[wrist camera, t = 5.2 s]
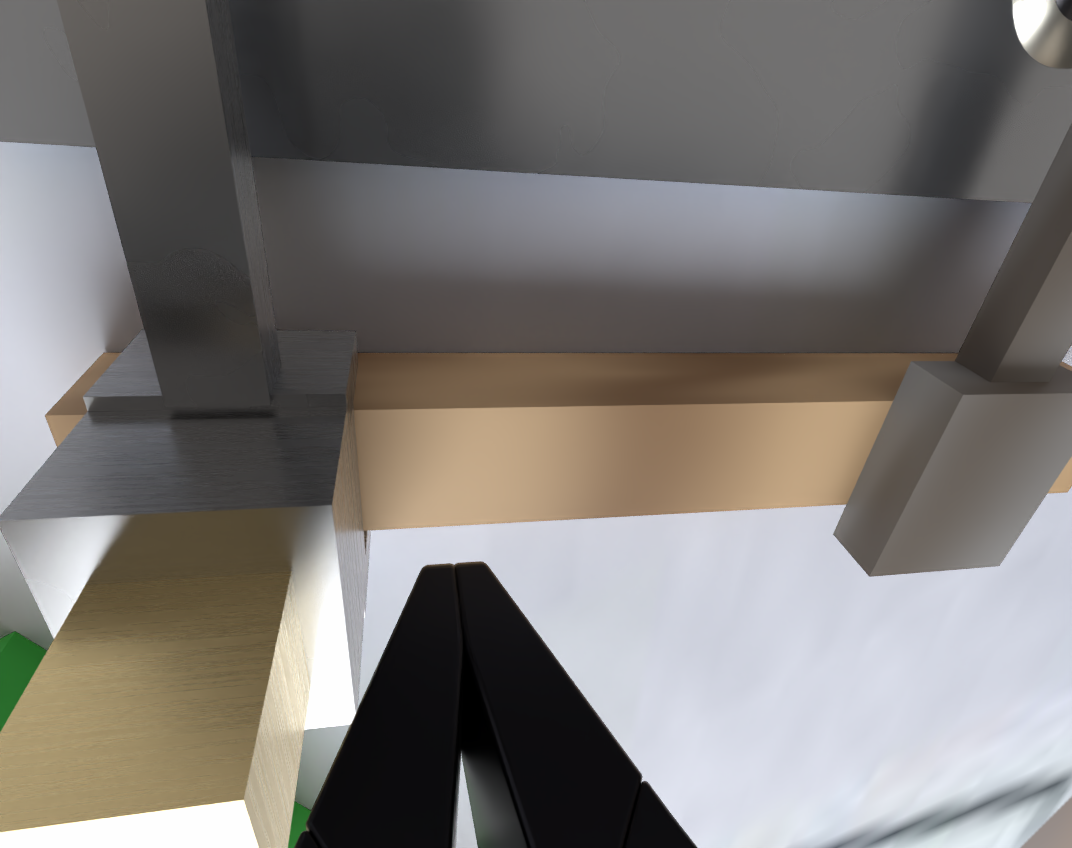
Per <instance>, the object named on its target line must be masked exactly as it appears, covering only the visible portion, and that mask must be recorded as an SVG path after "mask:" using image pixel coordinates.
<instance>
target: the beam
mask: <svg viewBox="0 0 1072 848" xmlns="http://www.w3.org/2000/svg"><path fill="white" fill-rule="evenodd" d="M1071 344H1072V123H1071V125H1070V127H1069V129H1068V131H1067V133H1066V135H1065V138H1064V140H1063V142H1062V144H1061V146H1060V148H1059V150H1058V152H1057V154H1056V156H1055V158H1054V160H1053V162H1052V164H1051V166H1050V168H1049V170H1048V172H1047V174H1046V176H1045V178H1044V180H1043V182H1042V184H1041V186H1040V188H1039V190H1038V192H1037V195H1036V197H1035V199H1034V201H1033V203H1032V205H1031V207H1030V209H1029V211H1028V213H1027V215H1026V217H1025V219H1024V221H1023V223H1022V225H1021V227H1020V229H1019V231H1018V233H1017V235H1016V237H1015V239H1014V241H1013V243H1012V245H1011V247H1010V250H1009V252H1008V254H1007V256H1006V258H1005V260H1004V262H1003V264H1002V266H1001V268H1000V270H999V272H998V274H997V276H996V278H995V280H994V282H993V284H992V286H991V288H990V290H989V292H988V294H987V296H986V298H985V300H984V302H983V304H982V307H981V309H980V311H979V313H978V315H977V317H976V319H975V321H974V323H973V325H972V327H971V329H970V331H969V333H968V335H967V337H966V339H965V341H964V343H963V345H962V347H961V349H960V351H959V353H357V354H358V372H357V379H356V386H355V394H354V401H353V406H354V419H355V431H356V444H357V456H358V468H359V481H360V493H361V506H362V518H363V530H364V531H367V530H385V529H403V528H422V527H440V526H458V525H477V524H495V523H513V522H532V521H550V520H568V519H587V518H605V517H623V516H642V515H660V514H678V513H697V512H715V511H733V510H752V509H770V508H788V507H807V506H825V505H843V504H847V505H846V507H845V509H844V511H843V514H842V516H841V518H840V520H839V522H838V525H837V527H836V529H835V531H834V534H833V535H834V536H835V537H836V538H837V539H838V540H839V542H840V543H841V544H842V545H843V546H844V547H845V549H846V550H847V551H848V552H849V553H850V554H851V556H852V557H853V558H854V559H855V560H856V561H857V563H858V564H859V565H860V566H861V567H862V568H863V570H864V571H865V572H866V573H867V574H868V575H869V577H871V576H883V575H895V574H908V573H920V572H932V571H944V570H957V569H969V568H981V567H993V566H1000V564H1001V563H1002V561H1003V560H1004V558H1005V557H1006V555H1007V554H1008V552H1009V550H1010V549H1011V547H1012V546H1013V544H1014V543H1015V541H1016V540H1017V538H1018V537H1019V535H1020V534H1021V532H1022V531H1023V529H1024V528H1025V526H1026V525H1027V523H1028V522H1029V520H1030V519H1031V517H1032V516H1033V514H1034V513H1035V511H1036V510H1037V508H1038V507H1039V505H1040V504H1041V502H1042V501H1043V499H1044V498H1045V496H1046V495H1047V493H1063V492H1068V491H1069V489H1070V488H1071V486H1072V366H1070V365H1068V364H1066V363H1064V362H1062V360H1063V358H1064V356H1065V355H1066V353H1067V351H1068V349H1069V348H1070V346H1071ZM120 354H121V353H103V354H102V355H101V356H100V357H99V358H98V359H97V360H96V361H95V362H94V364H93V365H92V366H91V367H90V368H89V369H88V370H87V371H86V372H85V373H84V374H83V375H82V376H81V377H80V378H79V380H78V381H77V382H76V383H75V384H74V385H73V386H72V387H71V388H70V389H69V390H68V391H67V392H66V393H65V394H64V396H63V397H62V398H61V399H60V400H59V401H58V402H57V403H56V404H55V405H54V406H53V407H52V408H51V409H50V410H49V412H48V413H47V414H46V415H45V417H46V420H47V422H48V425H49V428H50V430H51V433H52V435H53V438H54V440H55V443H56V446H57V447H58V446H59V445H60V444H61V443H62V441H63V440H64V439H65V438H66V437H67V435H68V434H69V433H70V432H71V431H72V429H73V428H74V427H75V426H76V425H77V423H78V422H79V421H80V420H81V419H82V417H83V416H84V415H85V414H86V413H87V408H86V405H85V402H84V399H83V396H84V395H85V394H86V392H87V391H88V390H89V389H90V388H91V387H92V386H93V385H94V383H95V382H96V381H97V380H98V379H99V378H100V377H101V375H102V374H103V373H104V372H105V371H106V370H107V369H108V367H109V366H110V365H111V364H112V363H113V362H114V361H115V360H116V358H117V357H118V356H119V355H120Z"/></svg>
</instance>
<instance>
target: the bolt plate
mask: <svg viewBox="0 0 1072 848" xmlns="http://www.w3.org/2000/svg"><path fill="white" fill-rule="evenodd" d="M228 2H229V9H230V16H231V22H232V29H233V36H234V43H235V50H236V57H237V64H238V70H239V77H240V84H241V91H242V98H243V105H244V112H245V118H246V125H247V132H248V139H249V146H250V153H251V156H252V157H269V158H286V159H303V160H319V161H336V162H353V163H370V164H387V165H403V166H420V167H437V168H454V169H470V170H487V171H504V172H521V173H538V174H554V175H571V176H588V177H605V178H622V179H638V180H655V181H672V182H689V183H705V184H722V185H739V186H756V187H773V188H789V189H806V190H823V191H840V192H857V193H873V194H890V195H907V196H924V197H940V198H957V199H974V200H991V201H1008V202H1024V203H1033V201H1034V199H1035V197H1036V195H1037V192H1038V190H1039V188H1040V186H1041V184H1042V182H1043V180H1044V178H1045V176H1046V174H1047V172H1048V170H1049V168H1050V166H1051V164H1052V162H1053V160H1054V158H1055V156H1056V154H1057V152H1058V150H1059V148H1060V146H1061V144H1062V142H1063V140H1064V138H1065V135H1066V133H1067V131H1068V129H1069V127H1070V125H1071V123H1072V0H228ZM0 142H17V143H34V144H51V145H68V146H84V147H96V146H95V142H94V138H93V134H92V131H91V127H90V123H89V119H88V116H87V112H86V108H85V104H84V101H83V97H82V93H81V89H80V86H79V82H78V78H77V74H76V71H75V67H74V63H73V59H72V56H71V52H70V48H69V44H68V41H67V37H66V33H65V29H64V26H63V22H62V18H61V14H60V11H59V7H58V3H57V0H0Z"/></svg>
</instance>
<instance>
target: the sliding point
mask: <svg viewBox="0 0 1072 848" xmlns="http://www.w3.org/2000/svg"><path fill="white" fill-rule="evenodd" d="M57 3H58V7H59V11H60V14H61V18H62V22H63V26H64V29H65V33H66V37H67V41H68V44H69V48H70V52H71V56H72V59H73V63H74V67H75V71H76V74H77V78H78V82H79V86H80V89H81V93H82V97H83V101H84V104H85V108H86V112H87V116H88V119H89V123H90V127H91V131H92V134H93V138H94V142H95V146H96V149H97V153H98V157H99V161H100V164H101V168H102V172H103V176H104V179H105V183H106V187H107V191H108V194H109V198H110V202H111V206H112V209H113V213H114V217H115V221H116V224H117V228H118V232H119V236H120V239H121V243H122V247H123V251H124V254H125V258H126V262H127V266H128V269H129V273H130V277H131V281H132V284H133V288H134V292H135V296H136V299H137V303H138V307H139V311H140V314H141V318H142V322H143V326H144V329H142V330H141V331H140V332H139V333H138V335H137V336H136V337H135V338H134V339H133V340H132V341H131V343H130V344H129V345H128V346H127V347H126V348H125V349H124V350H123V352H122V353H121V354H120V355H119V356H118V357H117V358H116V360H115V361H114V362H113V363H112V364H111V365H110V366H109V367H108V369H107V370H106V371H105V372H104V373H103V374H102V375H101V377H100V378H99V379H98V380H97V381H96V382H95V383H94V385H93V386H92V387H91V388H90V389H89V390H88V391H87V392H86V394H85V395H84V396H83V399H84V402H85V405H86V408H87V413H86V414H85V415H84V416H83V417H82V419H81V420H80V421H79V422H78V423H77V425H76V426H75V427H74V428H73V429H72V431H71V432H70V433H69V434H68V435H67V437H66V438H65V439H64V440H63V441H62V443H61V444H60V445H59V446H58V447H57V449H56V450H55V451H54V452H53V453H52V455H51V456H50V457H49V458H48V459H47V461H46V462H45V463H44V464H43V465H42V467H41V468H40V469H39V470H38V471H37V473H36V474H35V475H34V476H33V477H32V479H31V480H30V481H29V482H28V483H27V484H26V486H25V487H24V488H23V489H22V490H21V492H20V493H19V494H18V495H17V496H16V498H15V499H14V500H13V501H12V502H11V504H10V505H9V506H8V507H7V508H6V510H5V511H4V512H3V513H2V514H1V516H0V530H1V532H2V534H3V536H4V538H5V540H6V542H7V544H8V546H9V548H10V550H11V552H12V554H13V556H14V558H15V560H16V562H17V565H18V567H19V569H20V571H21V573H22V575H23V577H24V579H25V581H26V583H27V585H28V587H29V589H30V591H31V593H32V595H33V597H34V599H35V601H36V603H37V605H38V607H39V610H40V612H41V614H42V616H43V618H44V620H45V622H46V624H47V626H48V628H49V630H50V632H51V634H52V636H53V638H54V640H53V642H52V644H51V645H50V647H49V649H48V651H47V652H46V654H45V656H44V657H43V659H42V661H41V663H40V664H39V666H38V668H37V670H36V671H35V673H34V675H33V677H32V678H31V680H30V682H29V684H28V685H27V687H26V689H25V690H24V692H23V694H22V696H21V697H20V699H19V701H18V703H17V704H16V706H15V708H14V710H13V711H12V713H11V715H10V716H9V718H8V720H7V722H6V723H5V725H4V727H3V729H2V730H1V732H0V848H288V842H289V835H290V828H291V821H292V814H293V807H294V800H295V793H296V786H297V779H298V772H299V765H300V758H301V751H302V744H303V737H304V730H307V729H315V728H324V727H333V726H342V725H350V724H351V723H352V720H353V718H354V716H355V714H356V712H357V709H358V696H359V682H360V667H361V652H362V638H363V623H364V617H365V613H366V597H367V582H368V567H369V552H370V537H371V532H370V530H367V531H364V530H363V518H362V506H361V493H360V481H359V468H358V456H357V444H356V431H355V419H354V406H353V401H354V394H355V386H356V379H357V372H358V354H357V340H356V331H312V330H276V324H275V317H274V310H273V304H272V297H271V290H270V283H269V276H268V269H267V262H266V256H265V249H264V242H263V235H262V228H261V221H260V214H259V208H258V201H257V194H256V187H255V180H254V173H253V166H252V160H251V153H250V146H249V139H248V132H247V125H246V118H245V112H244V105H243V98H242V91H241V84H240V77H239V70H238V64H237V57H236V50H235V43H234V36H233V29H232V22H231V16H230V9H229V2H228V0H57Z"/></svg>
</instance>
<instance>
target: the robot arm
mask: <svg viewBox="0 0 1072 848" xmlns="http://www.w3.org/2000/svg"><path fill="white" fill-rule="evenodd" d="M461 754H462V761H463V766H464V772H465V778H466V783H467V789H468V794H469V800H470V806H471V811H472V817H473V822H474V828H475V834H476V839H477V845H478V848H697V846H696V845H695V844H694V843H693V841H692V840H691V839H690V837H689V836H688V835H687V834H686V832H685V831H684V830H683V828H682V827H681V826H680V825H679V823H678V822H677V821H676V819H675V818H674V817H673V816H672V814H671V813H670V812H669V810H668V809H667V808H666V806H665V805H664V803H663V802H662V801H661V799H660V798H659V797H658V795H657V794H656V793H655V791H654V790H653V789H652V787H651V786H650V784H649V783H648V782H646V781H643V782H642V783H641V781H642V774H641V773H640V771H639V770H638V769H637V767H636V766H635V765H634V763H633V762H632V761H631V759H630V758H629V756H628V755H627V754H626V752H625V751H624V750H623V748H622V747H621V746H620V744H619V743H618V742H617V740H616V739H615V737H614V736H613V735H612V733H611V732H610V731H609V729H608V728H607V727H606V725H605V724H604V723H603V721H602V720H601V718H600V717H599V716H598V714H597V713H596V712H595V710H594V709H593V708H592V706H591V705H590V704H589V702H588V701H587V699H586V698H585V697H584V695H583V694H582V693H581V691H580V690H579V689H578V687H577V686H576V685H575V683H574V682H573V680H572V679H571V678H570V676H569V675H568V674H567V672H566V671H565V670H564V668H563V667H562V666H561V664H560V663H559V661H558V660H557V659H556V657H555V656H554V655H553V653H552V652H551V651H550V649H549V648H548V647H547V645H546V644H545V643H544V641H543V640H542V638H541V637H540V636H539V634H538V633H537V632H536V630H535V629H534V628H533V626H532V625H531V624H530V622H529V621H528V619H527V618H526V617H525V615H524V614H523V613H522V611H521V610H520V609H519V607H518V606H517V605H516V603H515V602H514V600H513V599H512V598H511V596H510V595H509V594H508V592H507V591H506V590H505V588H504V587H503V586H502V584H501V583H500V581H499V580H498V579H497V577H496V576H495V575H494V573H493V572H492V571H491V569H490V568H489V567H488V565H487V564H486V563H484V562H465V563H457V564H455V565H453V564H435V565H426V566H424V567H423V568H422V570H421V571H420V573H419V575H418V578H417V580H416V582H415V584H414V586H413V589H412V591H411V593H410V595H409V597H408V600H407V602H406V604H405V606H404V608H403V611H402V613H401V615H400V617H399V619H398V622H397V624H396V626H395V628H394V630H393V633H392V635H391V637H390V639H389V641H388V644H387V646H386V648H385V650H384V652H383V655H382V657H381V659H380V661H379V663H378V666H377V668H376V670H375V672H374V674H373V677H372V679H371V681H370V683H369V685H368V687H367V690H366V692H365V694H364V696H363V698H362V701H361V703H360V705H359V707H358V709H357V712H356V714H355V716H354V718H353V720H352V723H351V725H350V727H349V729H348V731H347V734H346V736H345V738H344V740H343V742H342V745H341V747H340V749H339V751H338V753H337V756H336V758H335V760H334V762H333V764H332V767H331V769H330V771H329V773H328V775H327V778H326V780H325V782H324V784H323V786H322V789H321V791H320V793H319V795H318V797H317V799H316V802H315V804H314V806H313V808H312V810H311V813H310V815H309V817H308V819H307V821H306V830H307V831H306V830H305V831H303V832H302V833H301V834H300V836H299V838H298V840H297V842H296V845H295V847H294V848H456V833H457V816H458V798H459V780H460V762H461Z"/></svg>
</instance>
